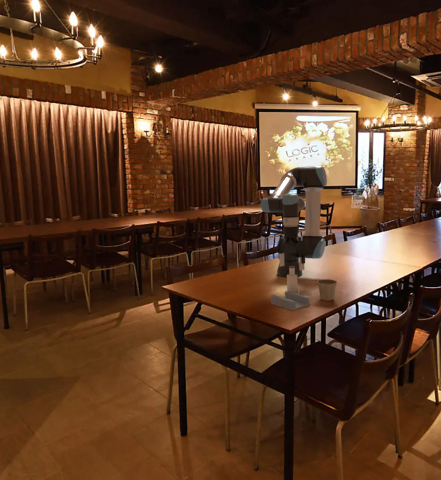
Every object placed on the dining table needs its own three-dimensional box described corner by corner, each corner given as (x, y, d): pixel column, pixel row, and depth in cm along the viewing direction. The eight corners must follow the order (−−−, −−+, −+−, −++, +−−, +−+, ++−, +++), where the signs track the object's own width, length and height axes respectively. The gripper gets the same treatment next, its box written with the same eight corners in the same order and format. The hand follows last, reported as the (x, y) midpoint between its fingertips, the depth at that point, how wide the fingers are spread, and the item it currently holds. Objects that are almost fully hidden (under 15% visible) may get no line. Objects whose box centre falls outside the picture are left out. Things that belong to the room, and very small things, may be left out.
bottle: (285, 294, 199) (284, 266, 197) (292, 292, 202) (291, 264, 200) (292, 296, 195) (292, 267, 193) (299, 294, 198) (299, 266, 196)
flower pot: (333, 295, 193) (333, 278, 192) (340, 301, 184) (340, 283, 182) (314, 296, 193) (314, 279, 191) (320, 302, 183) (320, 284, 182)
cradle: (271, 303, 186) (270, 295, 185) (287, 298, 192) (287, 290, 192) (292, 310, 175) (292, 302, 174) (309, 304, 181) (309, 296, 180)
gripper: (267, 225, 201) (269, 265, 204) (305, 228, 181) (305, 273, 184) (278, 223, 205) (279, 263, 208) (315, 226, 185) (316, 270, 188)
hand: (291, 268), depth 196 cm, fingers open, 13 cm apart
